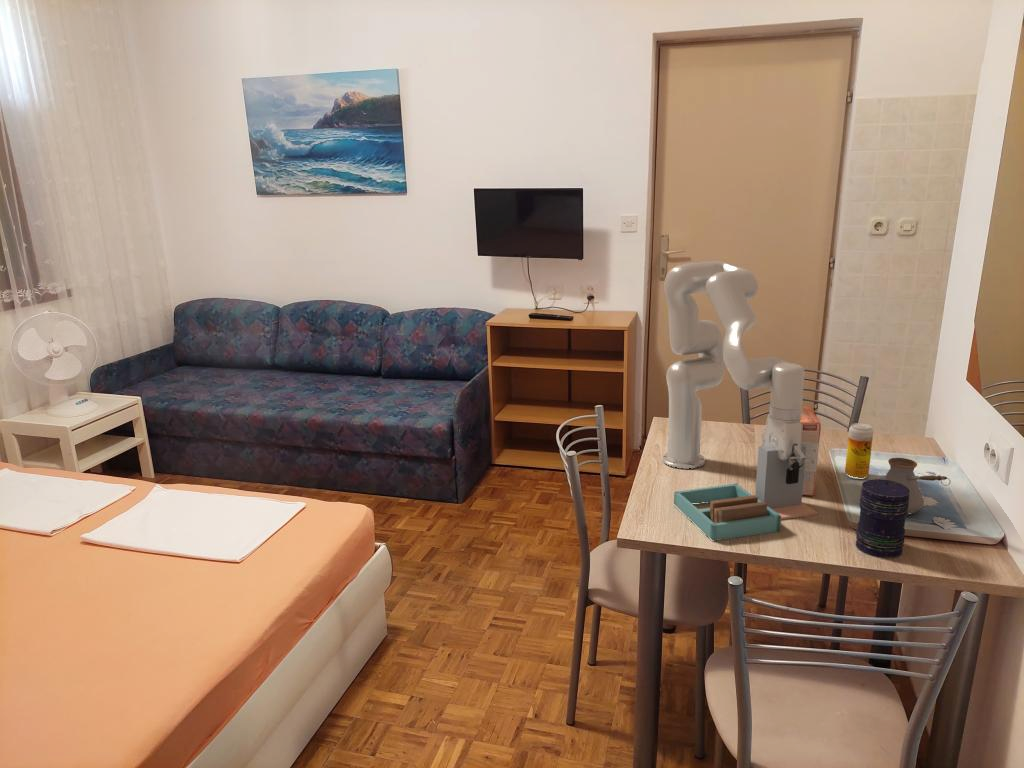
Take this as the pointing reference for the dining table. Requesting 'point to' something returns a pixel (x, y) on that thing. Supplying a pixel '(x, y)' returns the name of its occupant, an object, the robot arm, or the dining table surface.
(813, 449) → the cracker box
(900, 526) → the dark-blue ribbed cylinder
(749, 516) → the offcut slab
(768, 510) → the rack
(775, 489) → the grey block
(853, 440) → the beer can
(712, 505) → the offcut slab
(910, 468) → the coffee pot
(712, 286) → the robot arm
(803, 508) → the mat
